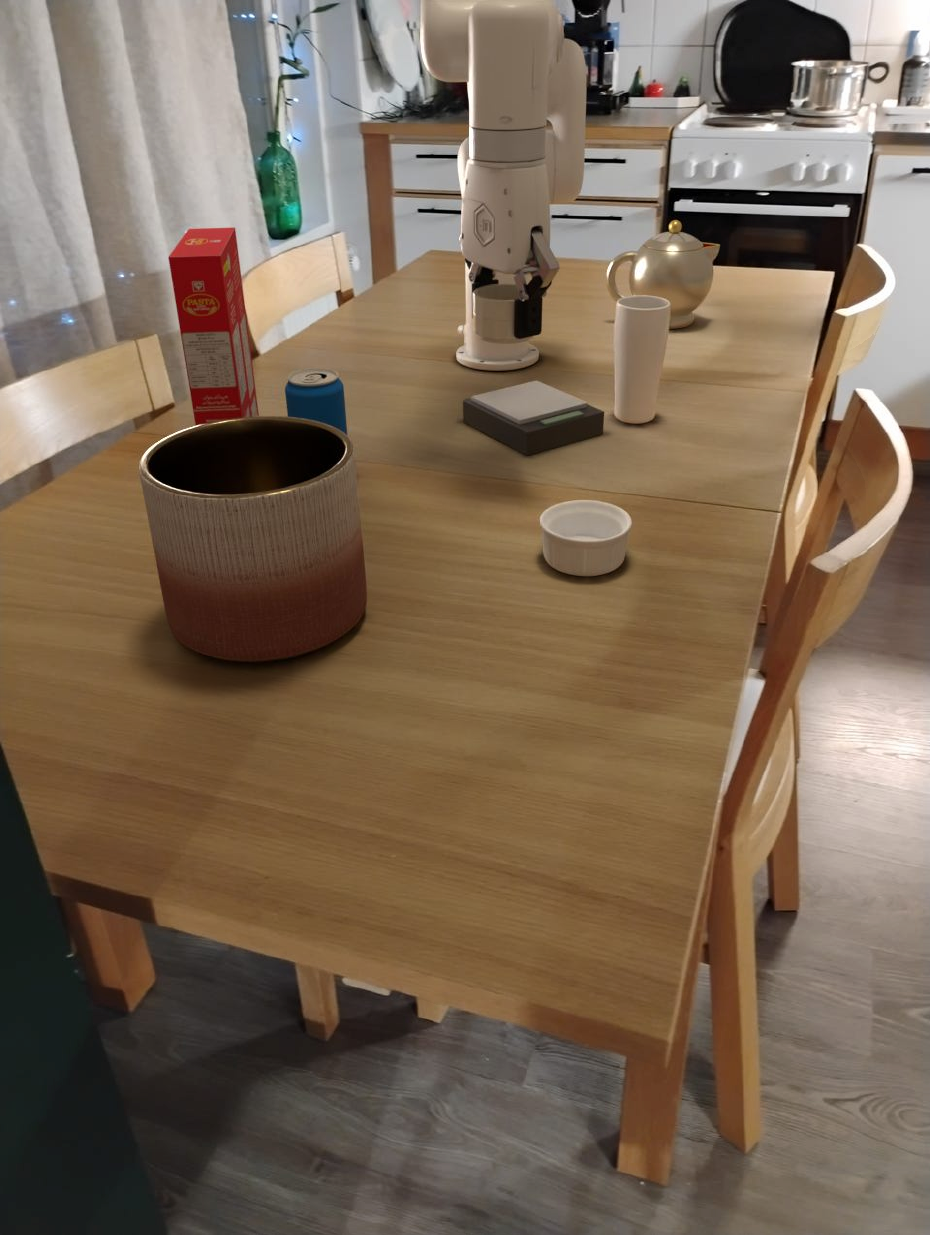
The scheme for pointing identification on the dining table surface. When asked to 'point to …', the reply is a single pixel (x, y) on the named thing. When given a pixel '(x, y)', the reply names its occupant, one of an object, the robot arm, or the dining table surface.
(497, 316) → the bowl
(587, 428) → the scale
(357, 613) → the planter
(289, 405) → the beverage can
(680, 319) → the teapot
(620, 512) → the ramekin
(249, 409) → the food packaging
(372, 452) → the dining table surface
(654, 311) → the drinking glass
